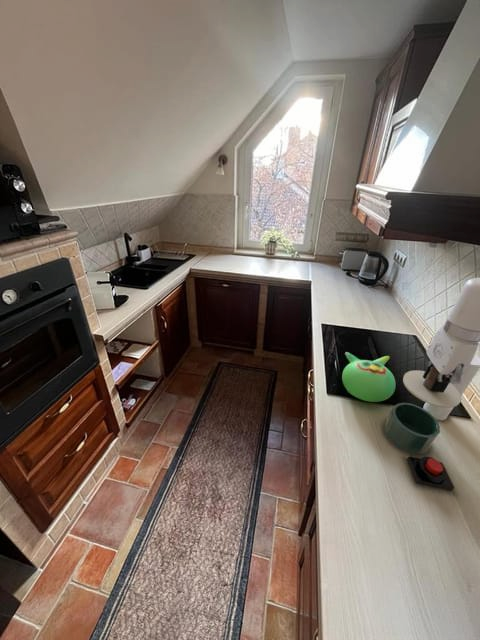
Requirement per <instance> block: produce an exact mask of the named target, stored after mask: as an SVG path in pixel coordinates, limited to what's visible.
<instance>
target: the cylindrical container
mask: <svg viewBox="0 0 480 640" xmlns="http://www.w3.org/2000/svg"><path fill="white" fill-rule="evenodd" d="M479 370H480V357H479V356H477V354H475V355H474V357H473V359H472V361H471V363H470V365H469V367H468V369H467V370H466V372H465V373H464V374H463V375H462V376H461V382H460V384H453V383H451V384H452V385H453V386H454V387H455V388H456V389H457V390H458V391H459V393H460V395H461V397H462V396H463V394H464V393H465V392H466V390H467V389H468V387H469V386H470V384H471V382H472V381H473V379H474V378H475V376H476V375H477V373H478V372H479ZM422 408H423V409H424V410H426V411H427V412H429V413H430V414H431V415H432V416H433V417H434V418H435V419H436V420H437V421H445V420H446V419H448V416H449V415H450V413H451V412H452V411H453V409H454V408H455V407H452V408H444V407H438V406H434V405H431V404H429V403H426V402H425V403H424V405H423V407H422Z"/></svg>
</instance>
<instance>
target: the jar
mask: <svg viewBox="0 0 480 640" xmlns="http://www.w3.org/2000/svg"><path fill="white" fill-rule="evenodd" d="M384 433H385V435H386V437H387V438H388V441H390V442H391V443H392V444H393V445H394V447H397V448H398V449H400V450H401V451H402V452H405V453H408V454H411V455H423V454H425V453H427V452H428V451H429V449H430V448H431V446H432V444H433V443H434V442H435V440H436V439H437V438H438V436H439V434H440V433H441V426H440V424H439V422H438V419H435V418H434V417H433V416H432V415H431V414H430V413H429V412H427V411H426V410H424V408H423V407H421V406H418V405H416V404H414V403H409V402H401V403H397V404H395V405H394V406H393V407H392V408H391V411H390V413H389V415H388V417H387V419H386V420H385V424H384Z"/></svg>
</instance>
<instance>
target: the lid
mask: <svg viewBox="0 0 480 640" xmlns="http://www.w3.org/2000/svg"><path fill="white" fill-rule="evenodd" d="M425 371H426V370H416V369H415V370H409V371H407V372H405V373H404V374H403V377H402V378H403V379H402V383H403V385H404V387H405V388H406V389H407V391H408V392H409V393H411V394H412V395H413V396H415V397H416V398H417V399H419V400H420V401H422V402H425V403H429V404H431V405H434V406H438V407H444V408H452V407H454V408H455V407H457V406H459V405H460V403H461V402H462V396H461V395H460V393H459V391H458V390H457V389H456V388H455V387H454V386H453V385H452V384H451V383H449V384H448V386H447V388H446V389H445V391H444V392H435V391H431V390H430V387H431V386H432V384H433V382H434V380H435V379H438V376H439V374H440V373H439V371H438V370H437V369H436V367H435V366H432V367H431V369H430V371H429V373H428V375H427V377H426V379H424V378H423V375H424V373H425ZM448 376H449V375H445V376H444V377H448Z"/></svg>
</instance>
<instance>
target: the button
mask: <svg viewBox="0 0 480 640" xmlns="http://www.w3.org/2000/svg"><path fill="white" fill-rule="evenodd" d="M438 461H439V460H438V459H435V458H434V459H428V460H427V462H426V463H425V467H426V469H427V470H428V471H429V472H430V473H432V474H434V475H439V474H440V473H441V472H442V470H443V467H442V465H441V464H440V463H439V462H440V461H439V462H438Z"/></svg>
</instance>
